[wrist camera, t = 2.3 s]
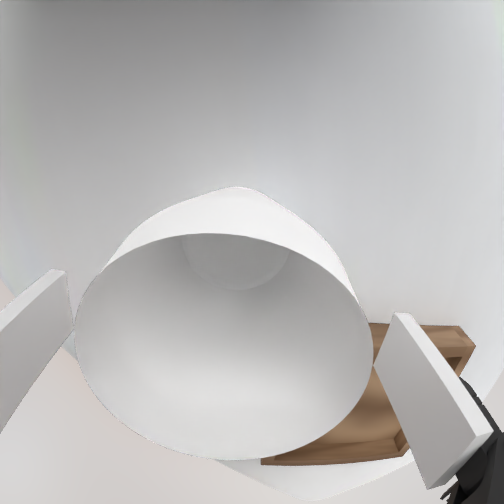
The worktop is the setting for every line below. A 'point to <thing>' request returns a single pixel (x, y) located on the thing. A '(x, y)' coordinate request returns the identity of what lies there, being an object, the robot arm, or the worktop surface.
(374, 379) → the tray
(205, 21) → the worktop surface
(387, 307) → the worktop surface
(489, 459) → the robot arm
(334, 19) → the worktop surface
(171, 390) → the cup
